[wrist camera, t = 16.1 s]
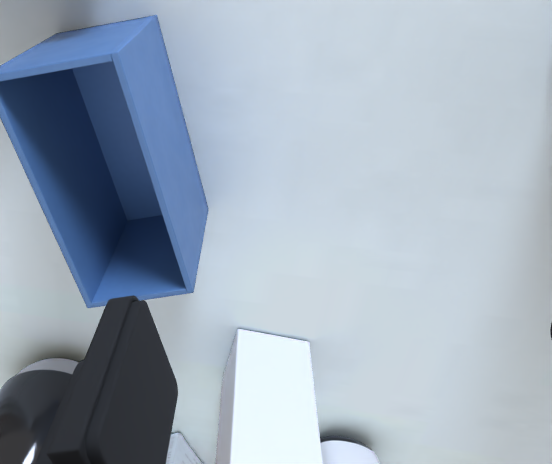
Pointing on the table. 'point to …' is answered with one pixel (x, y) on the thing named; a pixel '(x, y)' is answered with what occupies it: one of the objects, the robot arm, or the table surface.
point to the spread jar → (346, 451)
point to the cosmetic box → (180, 451)
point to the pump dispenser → (31, 408)
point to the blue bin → (109, 158)
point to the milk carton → (268, 403)
